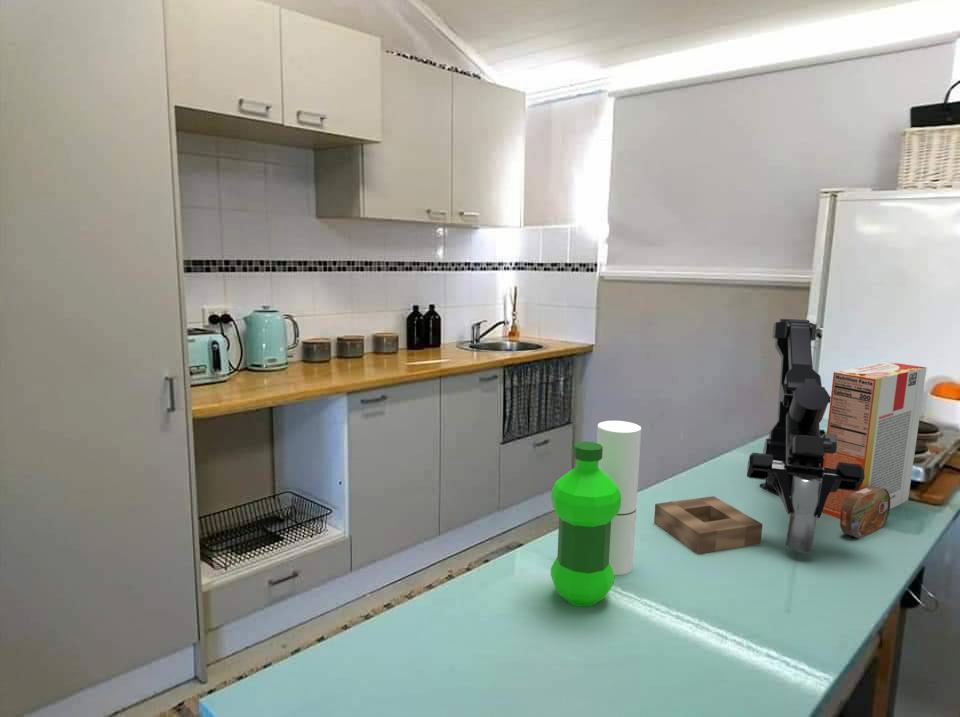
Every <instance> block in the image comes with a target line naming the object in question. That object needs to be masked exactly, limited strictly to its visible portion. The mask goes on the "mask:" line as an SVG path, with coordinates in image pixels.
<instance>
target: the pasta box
mask: <svg viewBox="0 0 960 717" xmlns="http://www.w3.org/2000/svg"><path fill="white" fill-rule="evenodd" d="M927 369H928V368H927V367H926V366H918V365H911V364H905V363H898V362H892V361H883V362H878V363H877V362H876V363H873V364H867V365H862V366H858V367H853V368H847V369H843V370H838V371H834V372H833V375H832V376H833V377H832V383H831V384H832V385H831V391H830V392H831V395H830V397H831V398H830V403H829V410H828V411H829V412H828V420H827V428H826V434H830V435H836V439H837V450H836V452H835V453H834V454H830V453H825V456H824V462H823V464H822V467H823V468H831V469H836V467H837V465H838V462H842V463H851V464H860V465H861V466H862V468H863V469H864V475H865V478H864V480H863V482H862V484H861V486H860V488H859V489H858V490H856V491H850V490H842V489H838V490H837V491H836V492H830V493H829V495H828V497H827V499H826V502H825V505H824V508H823V511H822V513H821V514H826V515H828V516H830V517H832V518H833V517H834V518H837V519H839V520H840V515H841V506H842V504H843V502H844V500H845V498H846V497H847V496H848V495H850V494H852V493H854V492H857V491H859V490H862V489H864V488H866V487H869V486H874V487H878V488H884V489H886V490H887V491H888V493H889V495H890V510H891V509H893V508H895V507H897V506H899V505H902V504H903V503H905V502H908V501H909V496H910V491H911V490H910V489H911V483H912V474H913V468H914V459H915V453H916V446H917V439H918V430H919V426H920V425H919V424H920V418H921V412H922V411H921V410H922V403H923V395H924V389H925V383H926V382H925V381H926V375H927Z"/></svg>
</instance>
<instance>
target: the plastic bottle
mask: <svg viewBox="0 0 960 717" xmlns="http://www.w3.org/2000/svg"><path fill="white" fill-rule="evenodd" d="M602 452H603V447H602V446H601V444H598V443H597V442H595V441H594V442H593V441H580V442H578V441H577V442H576V443H574V444H573V457H574V459H575V460H576V466H575V467H573V468H572V469H570V470H569V471H567V472H566V473H565V474H564V475H562V476H561V477H559V479H557V480H556V481H555V483H554V484H553V486H552V489H551V502H552V508H553V509H554V511H555V513H556V515H557V516H558V537H557V556H556V557H555V559H554V561H553V563H552V565H551V568H550V577H551V580H552V582H553V585H554V588H555V590H556V592H557V593H558V595H560V596H561V597H562V598H563V599H565V601H566V602H568V603H569V604H571V605H573V606H577V607H582V608H583V607H584V608H586V607H587V608H588V607H591V606H595V605H596V604H597V603H598V602H601V601H602V600H603V599H605V598H606V597H607V595H608V594H609V592H610V591H611V590H612V588H613V586H614V584H615V575H614V573H613V570H612V568H611V566H610V564H609V551H610V532H611V520H612V519H613V518H614V517H615V516H616V515H617V514H618V512H619V509H620V506H621V495H620V492H619V489H618V487H617V486H616V485H615V483H614V482H613V481H612V480H611V479H610V478H609V477H608V476H607V475H606V474H605V473H604V472H603V471H602V470H600V469H599V468H598V461H599V460H601V459H602Z"/></svg>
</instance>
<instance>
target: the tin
mask: <svg viewBox="0 0 960 717" xmlns="http://www.w3.org/2000/svg"><path fill="white" fill-rule="evenodd" d="M890 510H891V509H890V495H889V493H888V491H887V490H886V489H884V488H878V487H874V486H869V487H866V488H864V489H862V490H859V491H857V492H854V493H852V494H850V495H848V496H847V497H846V498H845V500H844V502H843V504H842V506H841V515H840V519H839V520H840V521H839V528H840V529H841V532H842V533H843V534H846V535H848V536H850V537H854V538H856V539H862V538H864V537H866V536H868V535H870V534H872V533H874V532H877V531H878V530H880V529H882V528H883V526H884V525H885V524H886V522H887V520H888V517H889V515H890Z"/></svg>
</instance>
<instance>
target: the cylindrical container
mask: <svg viewBox="0 0 960 717" xmlns="http://www.w3.org/2000/svg"><path fill="white" fill-rule="evenodd" d="M596 432H597V433H596V434H597V435H596V443H598V444H601V446H602V447H603V452H602V459H601V460H599V461H598V468H599V469H600V470H602V471H603V472H604V473H605V474H606V475H607V476H608V477H609V478H610V479H611V480H612V481H613V482H614V483H615V485H616V486H617V487H618V489H619V492H620V495H621V506H620V509H619V512H618V514H617V515H616V516H615V517H614V518H613V519H612V520H611V532H610V551H609V564H610V566H611V568H612V570H613V573H614V576H622V575H623V576H624V575H627V574H629V573H631V572H632V571H633V568H634V554H635V550H634V549H635V536H636V522H637V520H636V518H637V504H638V491H639V490H638V489H639V488H638V487H639V486H638V485H639V471H640V470H639V469H640V456H641V455H640V452H641V440H642V439H641V438H642V426H641V425H639V424H637V423H634V422H631V421H624V420H605V421H601V422H598V424H597V430H596Z"/></svg>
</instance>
